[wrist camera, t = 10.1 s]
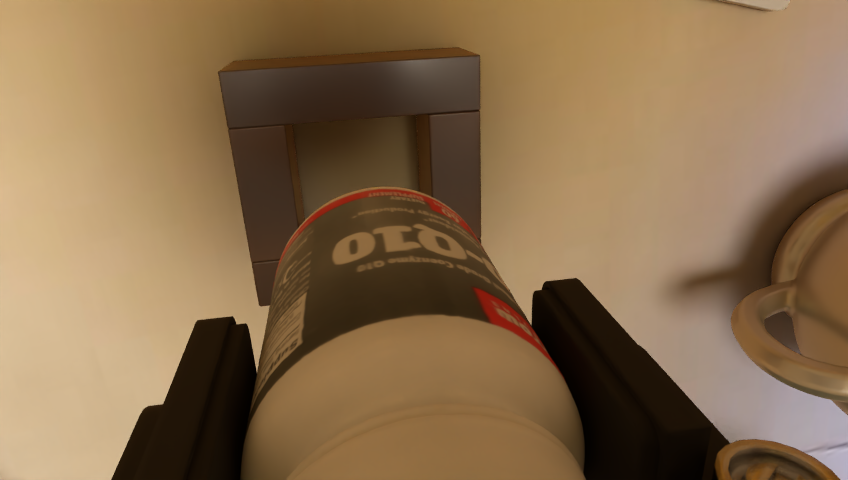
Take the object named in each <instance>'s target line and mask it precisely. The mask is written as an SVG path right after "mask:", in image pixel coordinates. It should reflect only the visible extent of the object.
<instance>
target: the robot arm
mask: <svg viewBox="0 0 848 480" xmlns="http://www.w3.org/2000/svg"><path fill="white" fill-rule="evenodd" d="M532 328H533V330H534V331H535V333H536V334H537V336H538V337H539V339H540V340H541V342H542V343H543V345H544V347H545V348H546V350H547V352H548V354H549V355H550V357H551V358H552V360H553V361H554V363H555V364H556V366H557V367H558V369H559V370H560V372H561V374H562V375H563V377H564V379H565V381H566V384H567V386H568V388H569V390H570V392H571V394H572V397H573V399H574V401H575V404H576V406H577V408H578V411H579V415H580V418H581V422H582V426H583V433H584V440H585V463H584V471H583V474H584V476H585V478H586V480H840V479H839V478H838V477H837V476H836V475H835V473H834V472H833V471H832V470H831V469H829V468H828V467H827V466H825V465H824V464H822V463H821V462H820V461H818V460H817V459H815V458H814V457H812V456H810V455H808V454H806V453H804V452H802V451H800V450H798V449H796V448H793V447H790V446H787V445H783V444H780V443H777V442H773V441H765V440H758V439H752V440H739V441H736V442H733V443H731V444H730V443H729V442H728V440H727V439H726V438H725V437H724V436H723V435H722V434H721V433H720V432H719V431H718V429H717V428H716V427H715V426H714V425H713V424H712V423H711V422H710V421H709V420H708V418H707V417H706V416H705V415H704V414H703V413H702V412H701V411H700V410H699V409H698V408H697V406H696V405H695V404H694V403H693V402H692V401H691V400H690V399H689V398H688V397H687V395H686V394H685V393H684V392H683V391H682V390H681V389H680V388H679V387H678V386H677V384H676V383H675V382H674V381H673V380H672V379H671V378H670V377H669V376H668V375H667V373H666V372H665V371H664V370H663V369H662V368H661V367H660V366H659V365H658V364H657V362H656V361H655V360H654V359H653V358H652V357H651V356H650V355H649V354H648V353H647V351H646V350H644V349H643V348H642V347H641V346H640V345H638V344H637V343H636V342H635V341H634V340H633V339H632V338H631V337H630V336H629V334H628V333H627V332H626V331H625V330H624V329H623V328H622V327H621V326H620V324H619V323H618V322H617V321H616V320H615V319H614V318H613V317H612V316H611V314H610V313H609V312H608V311H607V310H606V309H605V308H604V307H603V306H602V305H601V303H600V302H599V301H598V300H597V299H596V298H595V297H594V296H593V295H592V293H591V292H590V291H589V290H588V289H587V288H586V287H585V286H584V285H583V283H582V282H581V281H580V280H578V279H577V278H573V279H564V280H555V281H546V282H545V283H544V284H543V287H542V290H538V291H535V292H534V294H533V300H532ZM256 376H257V371H256V366H255V360H254V355H253V349H252V344H251V338H250V333H249V328H248V326H247V324H237V325H236V322H235V319H234V318H233V316H232V317H223V318H214V319H205V320H197V322H196V323H195V326H194V328H193V331H192V333H191V336H190V338H189V341H188V343H187V346H186V348H185V351H184V353H183V356H182V358H181V361H180V363H179V366H178V368H177V371H176V373H175V376H174V378H173V381H172V384H171V386H170V389H169V391H168V394H167V396H166V399H165V401H164V404H161V405H154V406H148V407H146V408H144V410H143V411H142V413H141V414H140V416H139V419H138V421H137V423H136V425H135V428H134V430H133V432H132V434H131V437H130V439H129V441H128V443H127V446H126V448H125V450H124V452H123V455H122V457H121V459H120V461H119V464H118V466H117V468H116V470H115V473H114V475H113V477H112V479H111V480H240V474H241V462H242V452H243V442H244V438H245V432H246V427H247V422H248V418H249V414H250V408H251V403H252V397H253V392H254V387H255V381H256Z"/></svg>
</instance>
